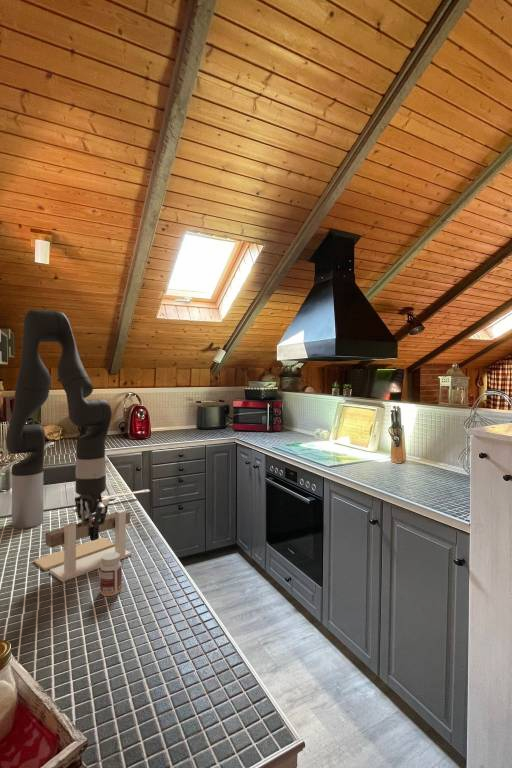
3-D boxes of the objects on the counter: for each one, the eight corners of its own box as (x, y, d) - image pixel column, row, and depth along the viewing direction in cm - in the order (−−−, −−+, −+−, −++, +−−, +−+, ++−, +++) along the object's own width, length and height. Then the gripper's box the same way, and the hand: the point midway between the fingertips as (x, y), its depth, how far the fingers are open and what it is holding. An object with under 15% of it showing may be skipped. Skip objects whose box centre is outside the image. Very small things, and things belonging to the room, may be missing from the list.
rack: (49, 572, 102) (49, 522, 102) (117, 548, 117) (117, 504, 116) (62, 581, 97) (62, 529, 97) (131, 555, 112) (131, 510, 112)
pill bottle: (114, 583, 97) (114, 549, 97) (125, 590, 94) (125, 555, 94) (95, 591, 93) (96, 556, 93) (106, 599, 90) (107, 562, 90)
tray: (33, 562, 107) (33, 560, 107) (103, 539, 123) (103, 537, 123) (44, 570, 103) (44, 568, 103) (115, 545, 118) (115, 543, 118)
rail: (45, 544, 100) (45, 532, 100) (124, 520, 117) (124, 510, 117) (50, 547, 98) (50, 535, 98) (130, 522, 115) (130, 512, 115)
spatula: (146, 494, 168) (146, 488, 168) (152, 498, 164) (152, 491, 164) (75, 507, 151) (75, 499, 151) (79, 511, 147) (79, 503, 147)
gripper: (64, 472, 109) (64, 535, 109) (90, 481, 100) (90, 550, 100) (91, 467, 114) (90, 527, 115) (117, 475, 105) (117, 540, 106)
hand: (90, 537), depth 107 cm, fingers closed on rail, 3 cm apart
